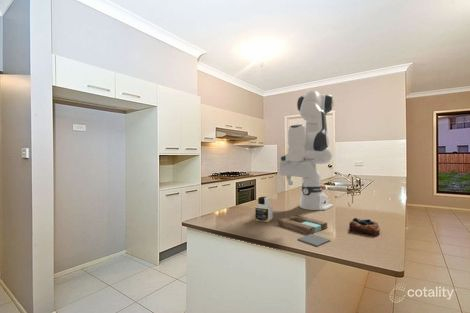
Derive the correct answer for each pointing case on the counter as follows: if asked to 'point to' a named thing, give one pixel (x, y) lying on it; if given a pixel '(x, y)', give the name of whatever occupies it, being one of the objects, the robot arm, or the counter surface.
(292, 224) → the channel board
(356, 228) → the pastry
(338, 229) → the counter surface
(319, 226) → the block
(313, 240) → the slate mat
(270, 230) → the counter surface
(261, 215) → the white black angular body
